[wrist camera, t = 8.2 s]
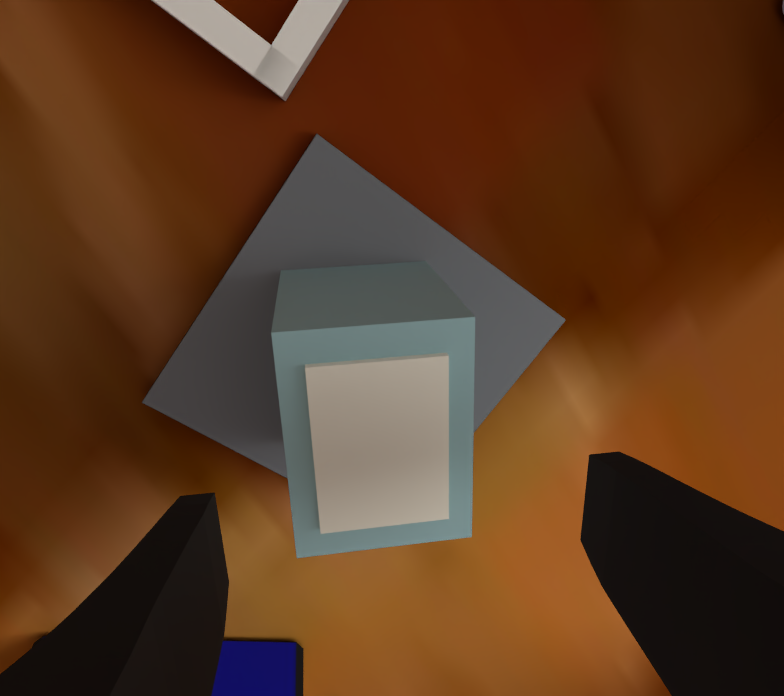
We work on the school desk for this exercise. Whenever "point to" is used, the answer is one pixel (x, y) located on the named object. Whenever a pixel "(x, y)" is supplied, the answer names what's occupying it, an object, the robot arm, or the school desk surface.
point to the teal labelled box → (375, 406)
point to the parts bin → (250, 51)
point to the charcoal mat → (321, 250)
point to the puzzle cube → (257, 669)
